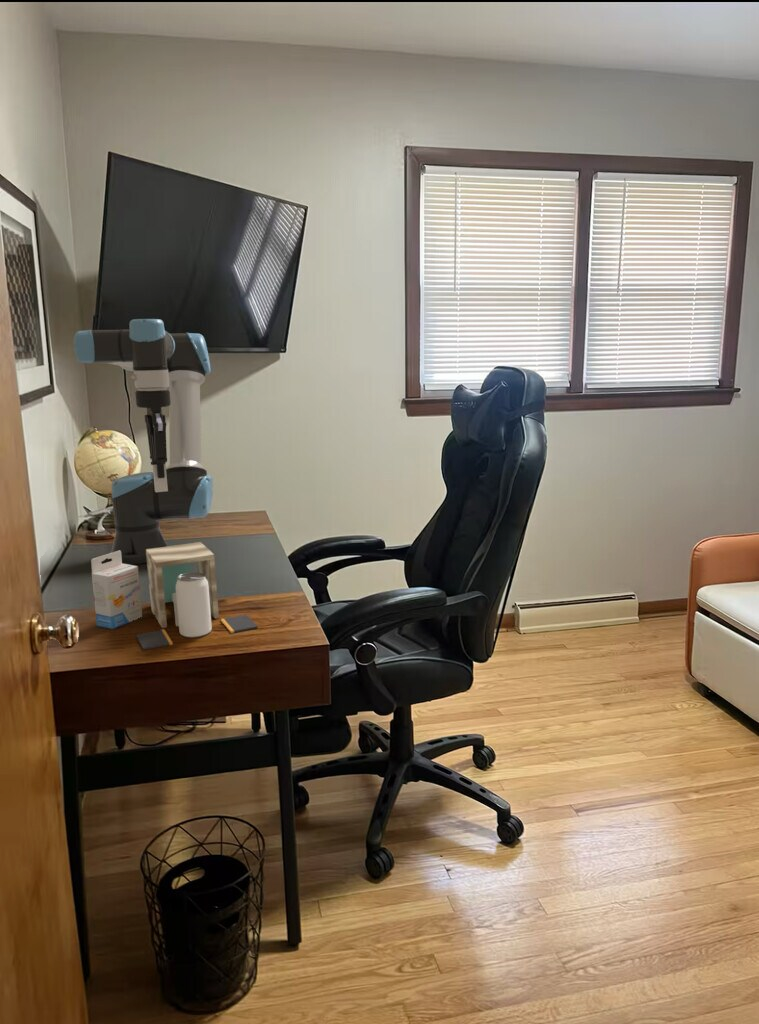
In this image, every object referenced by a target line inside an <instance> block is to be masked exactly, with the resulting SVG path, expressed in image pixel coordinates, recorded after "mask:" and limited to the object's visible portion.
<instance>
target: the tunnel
mask: <svg viewBox="0 0 759 1024" xmlns="http://www.w3.org/2000/svg"><path fill="white" fill-rule="evenodd" d="M146 557H147V563H146V567H147V577H148V587H149V595H150V596H149V599H150V609H151V612H152V614H153V615H155V616H154V617H155V619H156V621H157V620H158V621H157V622H158V624H159V625H160V627H161V628H162V629H165V628H167V627H168V623H167V613H166V602H165V599H164V588H163V577H162V567H164V566H171V565H178V564H185V563H190V564H191V563H197V571H198V572H199V573H204V574H205V575H206V576H205V578H206V579H207V581H208V586H209V599H210V612H211V617H212V616H213V617H214V618H215V619H219V618H220V615H219V601H218V599H219V598H218V590H217V578H216V577H217V576H216V562H215V554H214V553H213V552H212V551H211V550H210V549H209V548H208V547H207V546H206V545H204V544H203V543H202V542H201V541H196V542H190V543H184V544H183V543H182V544H175V545H167V547H159V548H152V549H146ZM213 617H212V618H213ZM214 618H213V619H214Z"/></svg>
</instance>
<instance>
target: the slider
mask: <svg viewBox="0 0 759 1024" xmlns="http://www.w3.org/2000/svg"><path fill="white" fill-rule="evenodd" d="M191 572H192V568H191V563H185V564H178V565H171V566H164V567H162V577H163V588H164V599H165V603H167V602H171V601H172V602H173V608H174V609H173V610H174V622H175V626H176V627H179V622H178V610H177V598H176V583H177V580H178V579H177V577H178V576H179V575H181V574H185V573H191Z"/></svg>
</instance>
